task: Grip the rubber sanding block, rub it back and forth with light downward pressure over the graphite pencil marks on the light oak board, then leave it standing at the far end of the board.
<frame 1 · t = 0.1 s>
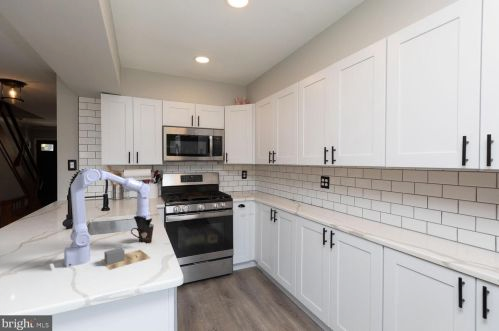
hand: (142, 230, 127), 10 cm above the counter, tool pointing down, fingers open, 7 cm apart
sanding block: (114, 261, 108), point 1 cm above the counter, touching oak board
oak board: (126, 261, 111), on the counter
coffee mug: (143, 242, 137), on the counter
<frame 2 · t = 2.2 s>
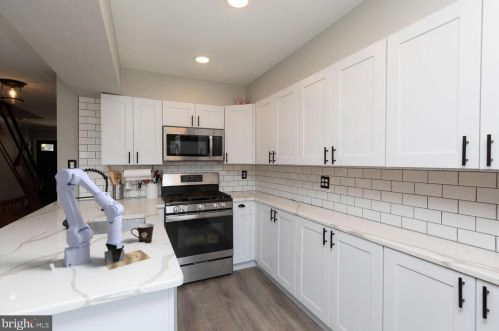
hand: (114, 259, 108), 2 cm above the counter, tool pointing down, fingers closed on sanding block, 4 cm apart
sanding block: (114, 261, 108), point 1 cm above the counter, touching gripper, oak board
everything else where it was.
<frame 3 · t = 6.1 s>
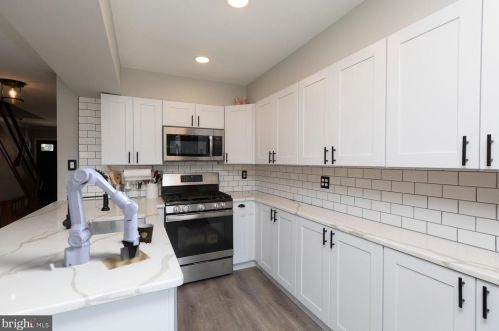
hand: (130, 256, 113), 2 cm above the counter, tool pointing down, fingers closed on sanding block, 4 cm apart
sanding block: (129, 257, 112), point 1 cm above the counter, touching gripper
everything else where it was.
when the fingers open (4 cm above the counter, at t = 10.3 s): sanding block drops 2 cm, resting on oak board.
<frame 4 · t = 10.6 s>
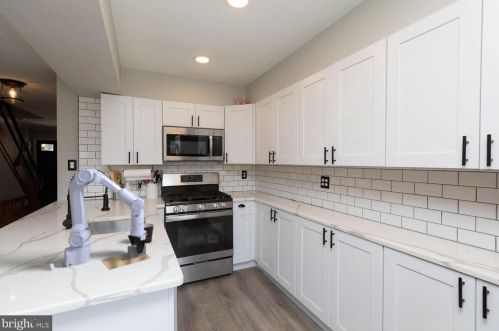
hand: (137, 251, 115), 4 cm above the counter, tool pointing down, fingers open, 7 cm apart
sanding block: (136, 256, 114), point 1 cm above the counter, touching oak board
everything else where it was.
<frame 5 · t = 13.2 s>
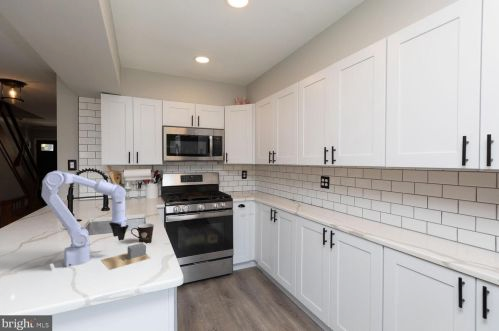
hand: (118, 238, 116), 9 cm above the counter, tool pointing down, fingers open, 7 cm apart
nothing on the counter moved.
at the end: sanding block 0.3 cm from the target spot on the oak board, point 1.2 cm above the oak board's base; sanding block tilted 0°; the gripper is holding nothing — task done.
